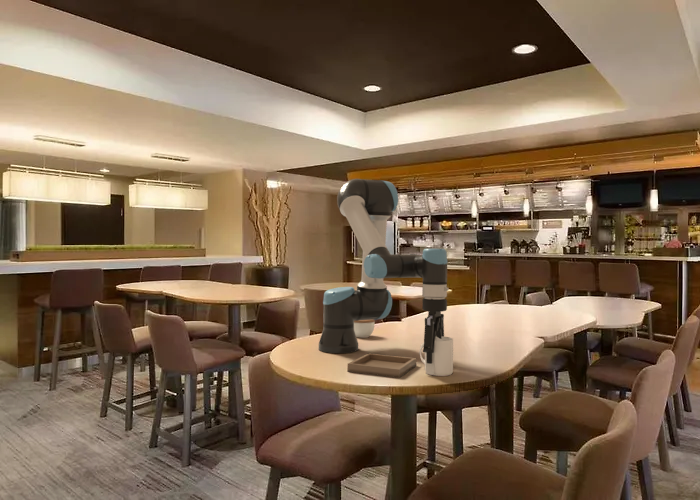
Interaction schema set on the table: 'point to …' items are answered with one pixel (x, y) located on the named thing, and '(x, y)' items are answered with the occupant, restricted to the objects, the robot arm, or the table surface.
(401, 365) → the tray
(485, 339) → the table surface
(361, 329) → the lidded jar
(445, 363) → the mug
